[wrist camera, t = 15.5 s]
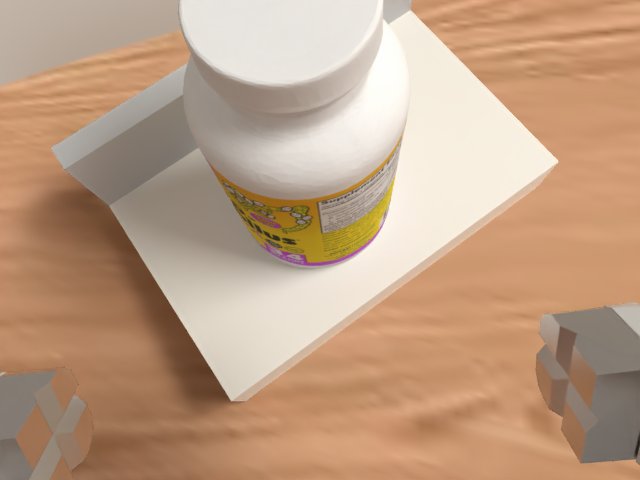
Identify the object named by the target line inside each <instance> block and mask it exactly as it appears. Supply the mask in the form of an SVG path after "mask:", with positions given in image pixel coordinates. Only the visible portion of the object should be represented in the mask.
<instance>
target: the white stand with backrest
mask: <svg viewBox="0 0 640 480" xmlns="http://www.w3.org/2000/svg"><path fill="white" fill-rule="evenodd" d="M411 3H412V0H383V19H384V20H385V21H386V22H387V24H388V25H389V26H390V27H391V29H392V30H393V32H394V33H395V35H396V36H397V38H398V40H399V42H400V44H401V46H402V48H403V51H404V53H405V55H406V59H407V63H408V66H409V73H410V82H411V94H410V103H409V109H408V116H407V121H406V125H405V130H404V135H403V139H402V144H401V149H400V155H399V160H398V165H397V170H396V176H395V181H394V186H393V191H392V196H391V202H390V206H389V210H388V214H387V217H386V220H385V222H384V225H383V227H382V229H381V230H380V232H379V234H378V235H377V237H376V238H375V239H374V241H373V242H372V243H371V244H370V245H369V246H368V247H367V248H366V249H365V250H364V251H362V252H361V253H360V254H358V255H357V256H356V257H354V258H352V259H351V260H349V261H346V262H344V263H341V264H339V265H335V266H331V267H326V268H303V267H297V266H293V265H290V264H287V263H285V262H282V261H280V260H278V259H277V258H275V257H273V256H272V255H270V254H269V253H268V252H266V251H265V250H264V249H263V248H262V247H261V246H260V245H259V244H258V243H257V242H256V240H255V239H254V238H253V236H252V235H251V233H250V232H249V230H248V229H247V227H246V225H245V224H244V222H243V220H242V219H241V217H240V215H239V214H238V212H237V211H236V209H235V207H234V206H233V204H232V202H231V200H230V199H229V197H228V195H227V194H226V192H225V191H224V189H223V187H222V185H221V184H220V182H219V180H218V179H217V177H216V175H215V173H214V172H213V170H212V168H211V167H210V165H209V163H208V162H207V160H206V159H205V157H204V155H203V154H202V152H201V150H200V149H199V147H198V145H197V143H196V141H195V139H194V137H193V135H192V133H191V131H190V128H189V125H188V122H187V119H186V115H185V111H184V102H183V86H184V76H185V72H186V67H187V64H188V63H186V64H185V65H183V66H182V67H180V68H178V69H177V70H175V71H174V72H172V73H170V74H169V75H167V76H166V77H164V78H162V79H161V80H159V81H157V82H156V83H154V84H153V85H151V86H149V87H148V88H146V89H145V90H143V91H141V92H140V93H138V94H137V95H135V96H133V97H132V98H130V99H129V100H127V101H125V102H124V103H122V104H121V105H119V106H117V107H116V108H114V109H112V110H111V111H109V112H108V113H106V114H104V115H103V116H101V117H100V118H98V119H96V120H95V121H93V122H92V123H90V124H88V125H87V126H85V127H84V128H82V129H80V130H79V131H77V132H76V133H74V134H72V135H71V136H69V137H68V138H66V139H64V140H63V141H61V142H59V143H58V144H56V145H55V146H53V147H51V149H52V151H53V153H54V154H55V156H56V157H57V159H58V161H59V162H60V164H61V166H62V167H63V169H64V170H65V171H66V172H68V173H69V174H70V175H71V176H72V177H74V178H75V179H76V180H77V181H79V182H80V183H81V184H82V185H84V186H85V187H86V188H87V189H89V190H90V191H91V192H92V193H93V194H95V195H96V196H97V197H98V198H100V199H101V200H102V201H103V202H105V203H106V204H107V205H108V206H109V207H110V209H111V210H112V212H113V213H114V215H115V216H116V218H117V220H118V221H119V223H120V224H121V226H122V228H123V229H124V231H125V232H126V234H127V236H128V237H129V239H130V240H131V242H132V244H133V245H134V247H135V248H136V250H137V252H138V253H139V255H140V256H141V258H142V260H143V261H144V263H145V264H146V266H147V268H148V269H149V271H150V272H151V274H152V276H153V277H154V279H155V280H156V282H157V283H158V285H159V287H160V288H161V290H162V291H163V293H164V295H165V296H166V298H167V299H168V301H169V303H170V304H171V306H172V307H173V309H174V311H175V312H176V314H177V315H178V317H179V319H180V320H181V322H182V323H183V325H184V327H185V328H186V330H187V331H188V333H189V335H190V336H191V338H192V339H193V341H194V342H195V344H196V346H197V347H198V349H199V350H200V352H201V354H202V355H203V357H204V358H205V360H206V362H207V363H208V365H209V366H210V368H211V370H212V371H213V373H214V374H215V376H216V378H217V379H218V381H219V382H220V384H221V386H222V387H223V389H224V390H225V392H226V394H227V395H228V397H229V398H230V400H231V401H247V400H248V399H249V398H251V397H252V396H253V395H255V394H256V393H258V392H259V391H260V390H262V389H263V388H264V387H266V386H267V385H268V384H270V383H271V382H273V381H274V380H275V379H277V378H278V377H279V376H281V375H282V374H283V373H285V372H286V371H288V370H289V369H290V368H292V367H293V366H294V365H296V364H297V363H298V362H300V361H301V360H302V359H304V358H305V357H307V356H308V355H309V354H311V353H312V352H313V351H315V350H316V349H317V348H319V347H320V346H322V345H323V344H324V343H326V342H327V341H328V340H330V339H331V338H332V337H334V336H335V335H337V334H338V333H339V332H341V331H342V330H343V329H345V328H346V327H347V326H349V325H350V324H351V323H353V322H354V321H356V320H357V319H358V318H360V317H361V316H362V315H364V314H365V313H366V312H368V311H369V310H371V309H372V308H373V307H375V306H376V305H377V304H379V303H380V302H381V301H383V300H384V299H386V298H387V297H388V296H390V295H391V294H392V293H394V292H395V291H396V290H398V289H399V288H401V287H402V286H403V285H405V284H406V283H407V282H409V281H410V280H411V279H413V278H414V277H415V276H417V275H418V274H420V273H421V272H422V271H424V270H425V269H426V268H428V267H429V266H430V265H432V264H433V263H435V262H436V261H437V260H439V259H440V258H441V257H443V256H444V255H445V254H447V253H448V252H450V251H451V250H452V249H454V248H455V247H456V246H458V245H459V244H460V243H462V242H463V241H465V240H466V239H467V238H469V237H470V236H471V235H473V234H474V233H475V232H477V231H478V230H479V229H481V228H482V227H484V226H485V225H486V224H488V223H489V222H490V221H492V220H493V219H494V218H496V217H497V216H499V215H500V214H501V213H503V212H504V211H505V210H507V209H508V208H509V207H511V206H512V205H514V204H515V203H516V202H518V201H519V200H520V199H522V198H523V197H524V196H526V195H527V194H528V193H530V192H531V191H533V190H534V189H535V188H537V186H538V185H539V184H540V183H541V182H542V181H543V180H544V178H545V177H546V176H547V175H548V174H549V173H550V171H551V170H552V169H553V168H554V167H555V166H556V164H557V163H558V162H559V161H558V160H557V159H556V158H555V157H554V156H553V155H552V154H551V153H550V152H549V151H548V150H547V149H546V148H545V147H544V146H543V145H542V144H541V143H540V142H539V141H538V140H537V139H536V138H535V137H534V136H533V135H532V134H531V133H530V132H529V131H528V130H527V129H526V128H525V127H524V126H523V125H522V124H521V122H520V121H519V120H518V119H517V118H516V117H515V116H514V115H513V114H512V113H511V112H510V111H509V110H508V109H507V108H506V107H505V106H504V105H503V104H502V103H501V102H500V101H499V100H498V99H497V98H496V97H495V96H494V95H493V94H492V93H491V92H490V91H489V90H488V89H487V88H486V87H485V86H484V85H483V84H482V83H481V82H480V81H479V80H478V79H477V78H476V76H475V75H474V74H473V73H472V72H471V71H470V70H469V69H468V68H467V67H466V66H465V65H464V64H463V63H462V62H461V61H460V60H459V59H458V58H457V57H456V56H455V55H454V54H453V53H452V52H451V51H450V50H449V49H448V48H447V47H446V46H445V45H444V44H443V43H442V42H441V41H440V40H439V39H438V38H437V37H436V36H435V35H434V34H433V33H432V32H431V30H430V29H429V28H428V27H427V26H426V25H425V24H424V23H423V22H422V21H421V20H420V19H419V18H418V17H417V16H416V15H415V14H414V13H413V12H412V11H411Z"/></svg>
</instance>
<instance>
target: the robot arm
mask: <svg viewBox="0 0 640 480" xmlns="http://www.w3.org/2000/svg"><path fill="white" fill-rule="evenodd" d="M539 334H540V336H541V337H542V339H543V340H544V342H545V345H544V346H543V348H542V349H541V350H540V351H539V352H538V353H537V357H536V375H537V381H538V386H539V389H540V391H541V394H542V397H543V399H544V401H545V402H546V404H547V406H548V408H549V409H550V410H552V411H553V412H555V413H557V414H558V415H560V416H562V417H563V420H562V427H561V430H562V432H563V434H564V436H565V437H566V439H567V441H568V442H569V444H570V446H571V448H572V449H573V451H574V453H575V454H576V456H577V458H578V460H579V461H580V463H594V462H607V461H619V460H632V459H636V462H637V463H638V464H639V465H640V304H638V303H636V302H630V303H622V304H615V305H608V306H604V307H599V308H591V309H582V310H573V311H565V312H556V313H547V314H544V315H543V317H542V319H541V321H540V329H539ZM78 385H79V384H78V382H77V380H76V378H75V376H74V374H73V372H72V370H71V369H68V368H66V367H56V368H44V369H33V370H22V371H10V372H7V373H5V372H3V373H0V480H74V478H73V475H72V473H71V471H72V470H73V469H74V468H75V467H76V466H78V465H79V464H80V463H81V462H82V461H83V460H84V459H85V458H86V456H87V453H88V451H89V448H90V446H91V441H92V433H93V422H92V416H91V412H90V410H89V407H88V405H87V403H85V402H84V401H83V400H81V399H80V398H78V397H77V396H75V395H74V394H75V391H76V389H77V387H78Z"/></svg>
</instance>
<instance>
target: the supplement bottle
mask: <svg viewBox="0 0 640 480" xmlns="http://www.w3.org/2000/svg"><path fill="white" fill-rule="evenodd" d="M178 14H179V20H180V25H181V30H182V33H183V36H184V39H185V41H186V43H187V46H188V48H189V50H190V52H191V55H190V58H189V61H188V64H187V67H186V72H185V76H184V86H183V102H184V111H185V115H186V119H187V122H188V125H189V128H190V131H191V133H192V135H193V137H194V139H195V141H196V143H197V145H198V147H199V149H200V150H201V152H202V154H203V155H204V157H205V159H206V160H207V162H208V163H209V165H210V167H211V168H212V170H213V172H214V173H215V175H216V177H217V179H218V180H219V182H220V184H221V185H222V187H223V189H224V191H225V192H226V194H227V195H228V197H229V199H230V200H231V202H232V204H233V206H234V207H235V209H236V211H237V212H238V214H239V215H240V217H241V219H242V220H243V222H244V224H245V225H246V227H247V229H248V230H249V232H250V233H251V235H252V236H253V238H254V239H255V240H256V242H257V243H258V244H259V245H260V246H261V247H262V248H263V249H264V250H265V251H266V252H268V253H269V254H270V255H272V256H273V257H275V258H277V259H278V260H280V261H282V262H285V263H287V264H290V265H293V266H297V267H303V268H326V267H331V266H335V265H339V264H341V263H344V262H346V261H349V260H351V259H352V258H354V257H356V256H357V255H358V254H360V253H361V252H362V251H364V250H365V249H366V248H367V247H368V246H369V245H370V244H371V243H372V242H373V241H374V239H375V238H376V237H377V235H378V234H379V232H380V230H381V229H382V227H383V225H384V222H385V220H386V217H387V214H388V210H389V206H390V202H391V196H392V191H393V186H394V181H395V176H396V170H397V165H398V160H399V155H400V149H401V144H402V139H403V135H404V130H405V125H406V121H407V116H408V109H409V103H410V94H411V82H410V73H409V66H408V63H407V59H406V55H405V53H404V51H403V48H402V46H401V44H400V42H399V40H398V38H397V36H396V35H395V33H394V32H393V30H392V29H391V27H390V26H389V25H388V24H387V22H386V21H385V20H384V19H383V0H179V11H178Z"/></svg>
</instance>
